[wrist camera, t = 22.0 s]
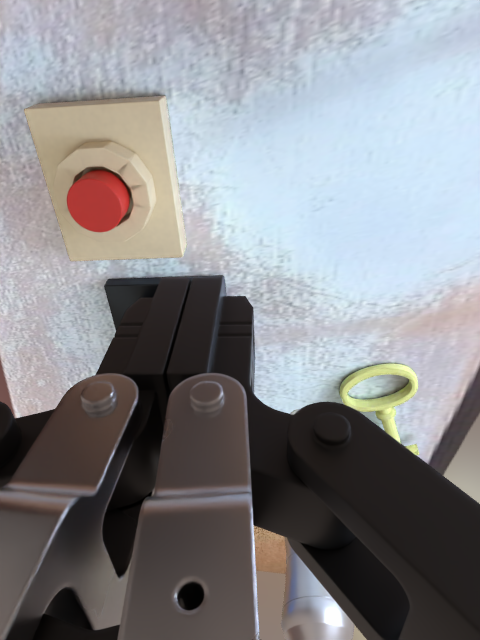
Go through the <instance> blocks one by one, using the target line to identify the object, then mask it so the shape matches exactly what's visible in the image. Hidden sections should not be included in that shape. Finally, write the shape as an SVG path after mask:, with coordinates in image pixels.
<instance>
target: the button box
mask: <svg viewBox="0 0 480 640" xmlns="http://www.w3.org/2000/svg"><path fill="white" fill-rule="evenodd" d="M24 112H25V115H26V118H27V122H28V125H29V128H30V131H31V135H32V138H33V141H34V144H35V148H36V151H37V154H38V157H39V161H40V164H41V167H42V171H43V174H44V177H45V180H46V184H47V187H48V190H49V193H50V197H51V200H52V203H53V206H54V210H55V213H56V216H57V220H58V223H59V226H60V229H61V233H62V236H63V239H64V242H65V246H66V249H67V252H68V255H69V259H70V261H93V260H121V259H150V258H178V257H183V255H184V252H185V249H186V246H187V242H186V235H185V228H184V221H183V214H182V207H181V200H180V193H179V186H178V178H177V171H176V164H175V157H174V150H173V143H172V136H171V129H170V122H169V115H168V108H167V101H166V96H150V97H134V98H119V99H103V100H88V101H72V102H57V103H41V104H36V105H33V106H31V107H28V108H25V109H24ZM93 170H104V171H107V172H110V173H112V174H114V175H115V176H117V177H118V178H119V179H120V180H121V181H122V182H123V183H124V185H125V186H126V188H127V190H128V193H129V198H130V204H129V208H128V211H127V212H126V214H125V215H124V217H123V218H122V219H121V221H120V222H119V224H118V225H117V226H116V227H115V228H113V229H112V230H110V231H107V232H93V231H89V230H87V229H85V228H83V227H82V226H80V225H79V224H78V223H77V222H76V221H75V220H74V219H73V217H72V216H71V214H70V212H69V210H68V206H67V194H68V191H69V189H70V187H71V186H72V185H73V184H74V183H75V182H76V181H77V180H79V179H80V178H81V177H82V176H83V175H84V174H86V173H88V172H90V171H93Z"/></svg>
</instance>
